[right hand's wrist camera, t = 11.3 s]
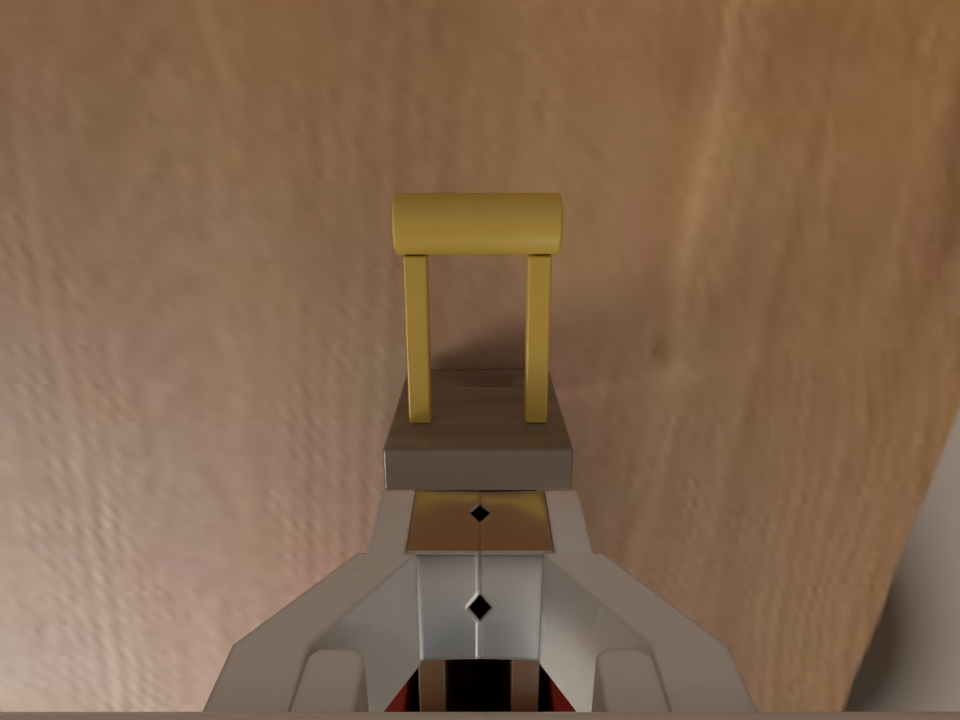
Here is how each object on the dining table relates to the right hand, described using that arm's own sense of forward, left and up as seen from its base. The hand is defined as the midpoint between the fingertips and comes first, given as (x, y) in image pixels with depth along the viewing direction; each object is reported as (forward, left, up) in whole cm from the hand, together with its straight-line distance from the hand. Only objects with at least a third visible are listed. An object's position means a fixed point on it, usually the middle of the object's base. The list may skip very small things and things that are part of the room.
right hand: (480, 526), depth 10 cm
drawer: (+7, -3, -12) cm, 14 cm away
